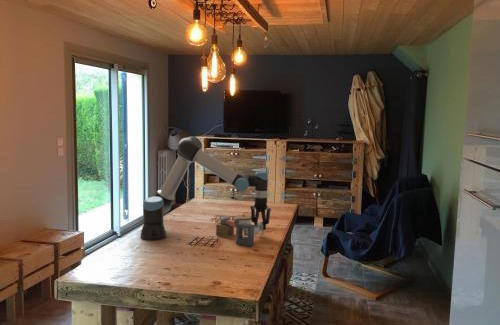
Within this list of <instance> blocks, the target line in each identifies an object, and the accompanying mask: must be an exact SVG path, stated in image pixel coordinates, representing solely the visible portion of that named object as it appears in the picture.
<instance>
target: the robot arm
mask: <svg viewBox="0 0 500 325" xmlns="http://www.w3.org/2000/svg"><path fill="white" fill-rule="evenodd" d="M177 150H178V151H177V158H176V160H175V162H174V163H173V166H172V168H171V170H170V172H169V174H168V175H167V177H166V180H165V181H164V183H163V185H162V187H161V189H158V190H157V191H156V193H155V196H150V197H146V198H145V199H144V200H143V204H142V207H143V226H142V229H141V232H140V239H142V240H146V241H158V240H159V241H160V240H163V239H165V238H166V237H167V231H166V228H165V226H164V215H165V214H167V213H168V212H169V211H170V210H171V208H172V207H173V202H174V200H175V194H176V192H177V190H178V188H179V186H180V184H181V182H182V180H183V178H184V176H185V174H186V173H187V170H188V169H189V167H190V165H191V164H192V163H197V164H199V165H200V166H202V167H203V168H205V169H206V170H208V171H210V172H211V173H213V174H214V175H215V176H217V177H219V178H221V179H222V180H223V181H225V182H227V183H229V184H230V185H232V186H233V187H235V189H236V191H238V192H245V191H246V190H248V188H249V187H250V188H254V189H255V190H254V204H253V205H251V206H250V207H249V208H250V212H251V213H250V214H251V215H250V216H251V223H254V224H253V225H255V224H257V223H259V217H260V214H261V222H263V224H262V230H261V233H260V234H261V236H265V232H266V229H267V225H268V224H270V217H271V216H270V215H271V211H272V208H271V207H268V186H269V185H268V184H269V174H268V172H266V171H263V170H262V171H261V170H260V171H259V170H258V171H255V174H247V173H246V174H245V173H244V174H243V173H239V172H236V171H235V170H234V169H232V168H230V167H228V166H227V165H226V164H224V163H223V162H221V161H219V160H218V159H216V158H214V157H213V156H211V155H210V154H208V153H206V152H205V151H204V150H203V143H202V141H201V139H200V138H198V137H196V136H188V137H184V138H182V139H181V140H179V142H178V144H177ZM258 234H259V232H257V233H255V234H254V235H258Z"/></svg>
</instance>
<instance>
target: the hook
mask: <svg viewBox="0 0 500 325" xmlns="http://www.w3.org/2000/svg"><path fill="white" fill-rule="evenodd" d="M262 224H263V221H260V222H259V221H258V222H257V224H255V225H254V224H253V225H254V235H256V234H255V233H257V232H258V233H259V232H260V231H262ZM243 230H244V231H243V233H244V237H248V228H246V229H243Z"/></svg>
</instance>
